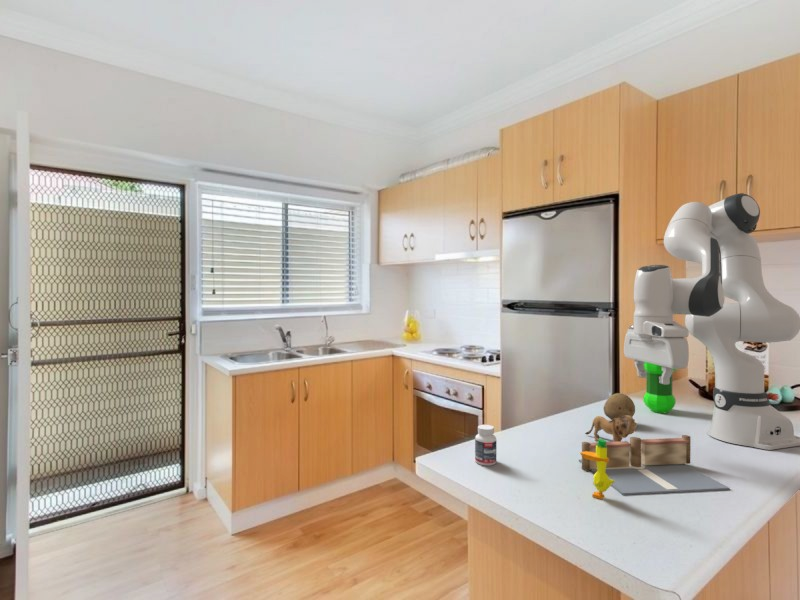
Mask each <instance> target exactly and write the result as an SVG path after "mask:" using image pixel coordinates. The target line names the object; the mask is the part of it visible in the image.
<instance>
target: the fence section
mask: <svg viewBox="0 0 800 600" xmlns="http://www.w3.org/2000/svg"><path fill="white" fill-rule="evenodd" d="M641 439H642V438H640V437H637V436H636V437H635V436H630V437H629V442H628V441H626V440H625V441H623V440H621V441H620V442H614V441H606V445H607V457H608V458H609V462H607V464H606V468H616V467H630V465H631V466H633V467H641ZM596 443H598V441H595V442H589V441H582V442H581V452H584V451H588V452H594V453H596ZM581 459H582V463H581V470H582V471H585V472H590V471H591V470H590V469H596V468H597V462H596V461H592V460H588V459H585V458H583V456H582V455H581Z"/></svg>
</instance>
